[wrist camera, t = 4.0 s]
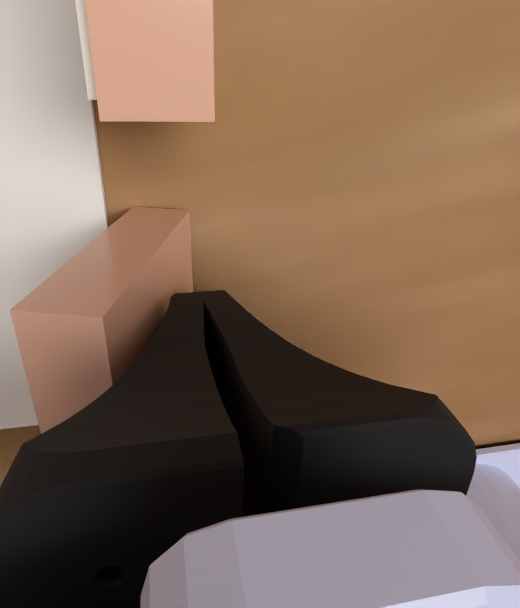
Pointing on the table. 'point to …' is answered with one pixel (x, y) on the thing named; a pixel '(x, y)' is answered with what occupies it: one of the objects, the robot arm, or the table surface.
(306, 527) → the robot arm
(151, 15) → the tile
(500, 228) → the table surface
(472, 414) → the table surface
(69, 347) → the tile
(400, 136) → the table surface
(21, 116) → the felt mat
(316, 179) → the table surface
